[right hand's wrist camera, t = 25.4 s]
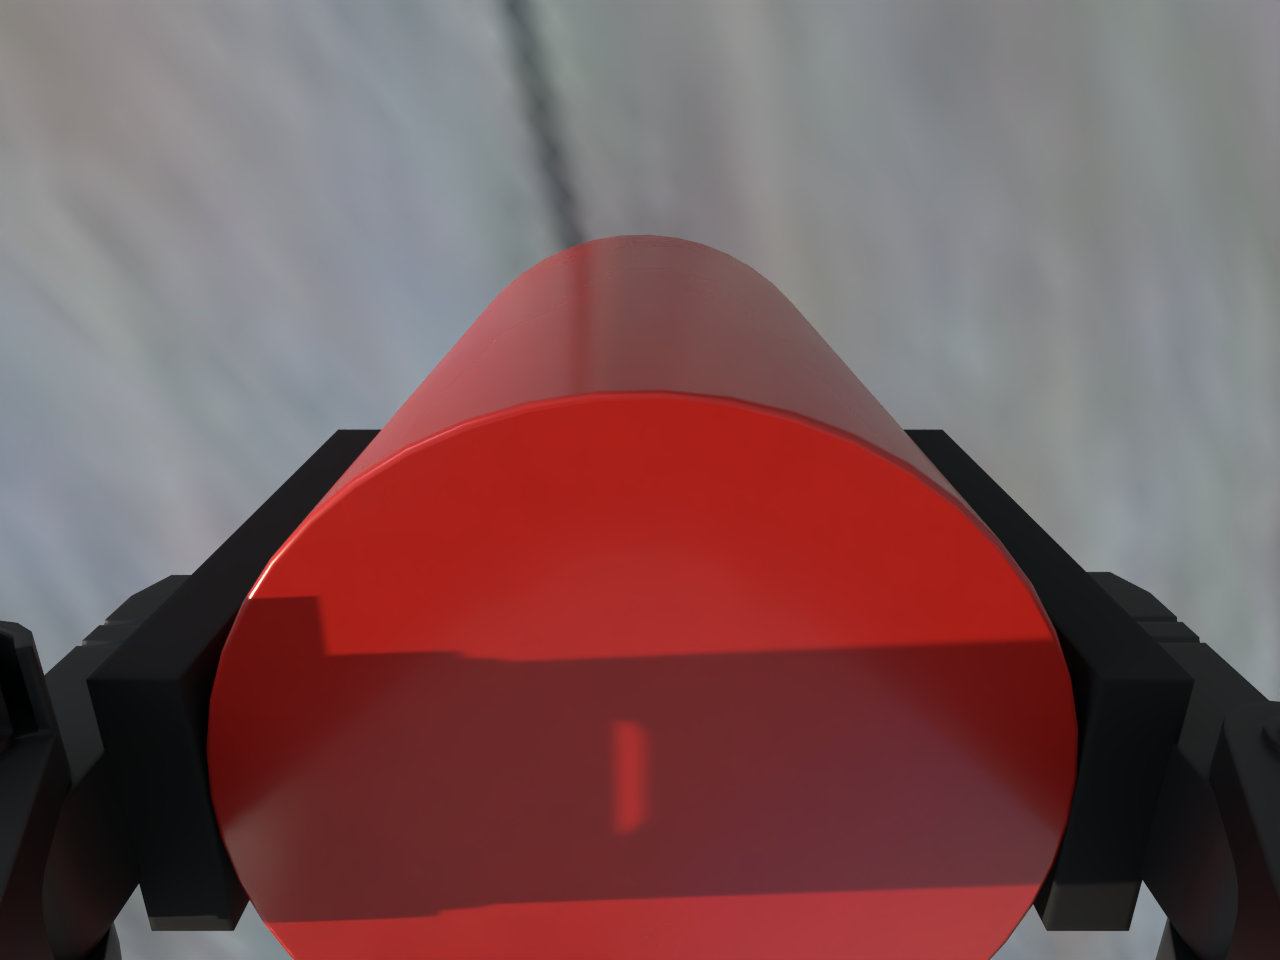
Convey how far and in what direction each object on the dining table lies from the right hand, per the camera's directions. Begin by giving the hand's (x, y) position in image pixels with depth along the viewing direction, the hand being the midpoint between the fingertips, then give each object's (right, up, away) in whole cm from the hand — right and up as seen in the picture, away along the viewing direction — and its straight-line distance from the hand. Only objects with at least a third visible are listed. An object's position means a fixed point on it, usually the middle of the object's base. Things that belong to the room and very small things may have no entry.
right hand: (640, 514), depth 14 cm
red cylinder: (0, +1, +4) cm, 4 cm away
